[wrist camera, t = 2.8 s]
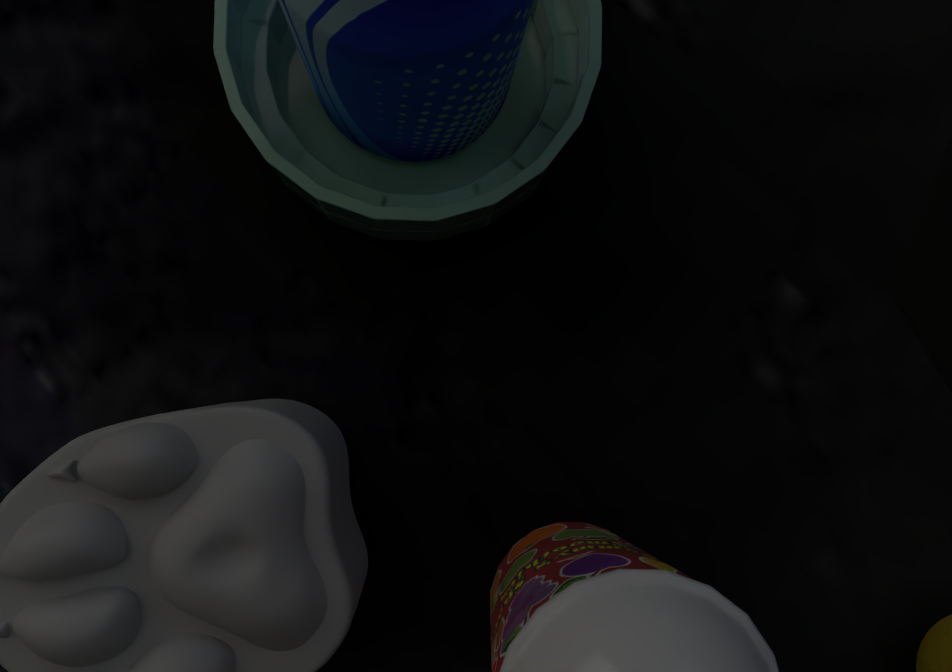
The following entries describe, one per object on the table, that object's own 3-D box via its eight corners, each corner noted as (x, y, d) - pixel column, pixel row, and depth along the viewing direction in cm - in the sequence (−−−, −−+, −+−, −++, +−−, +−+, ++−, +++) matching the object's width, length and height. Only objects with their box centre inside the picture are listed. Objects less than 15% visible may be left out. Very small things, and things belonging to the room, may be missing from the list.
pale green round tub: (382, -153, 39) (374, -239, 33) (642, 49, 39) (677, -3, 34) (176, 104, 38) (133, 59, 32) (444, 308, 38) (446, 298, 33)
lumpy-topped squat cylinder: (380, 619, 38) (364, 694, 29) (74, 684, 37) (-35, 781, 28) (334, 381, 38) (305, 384, 29) (30, 441, 37) (-92, 462, 28)
